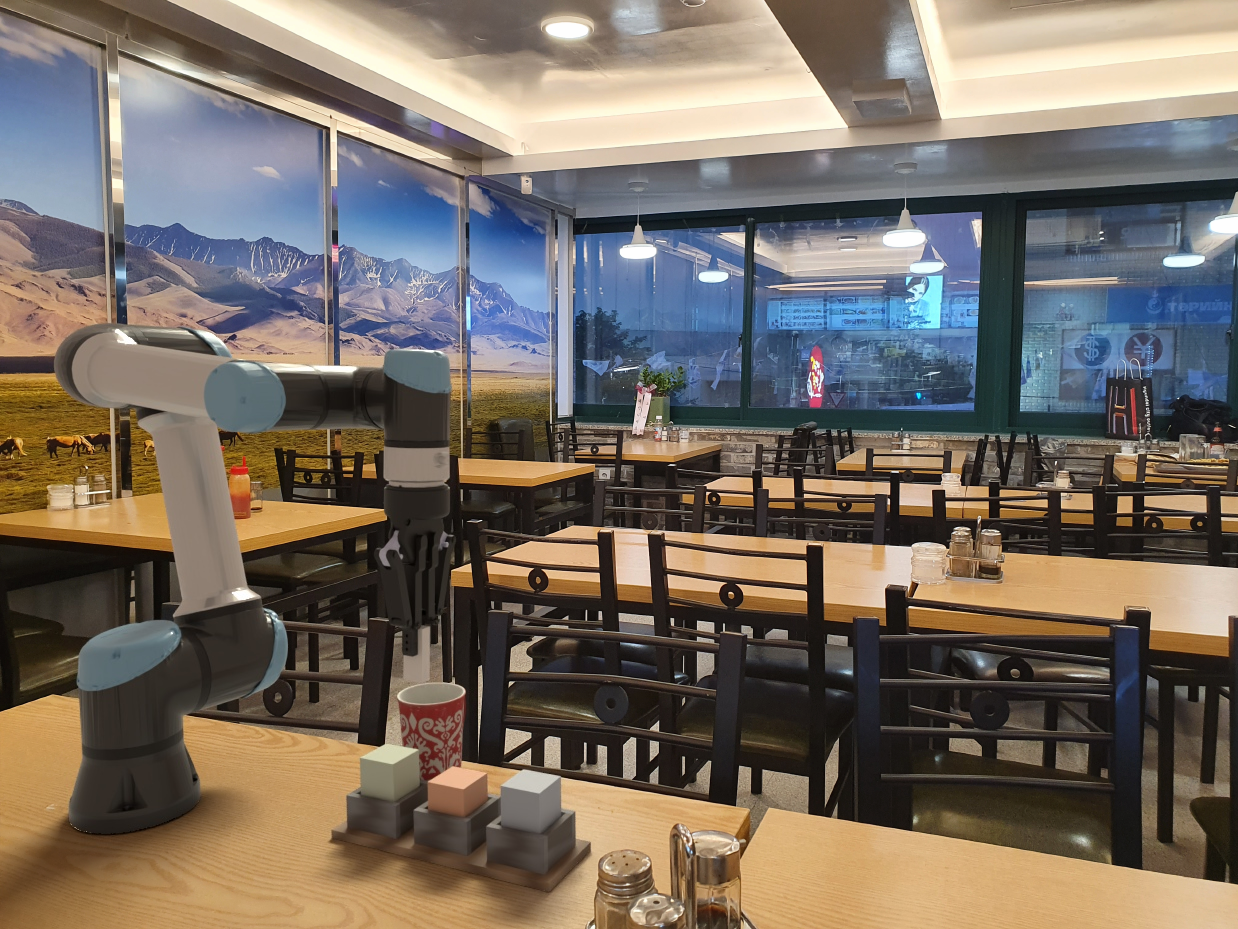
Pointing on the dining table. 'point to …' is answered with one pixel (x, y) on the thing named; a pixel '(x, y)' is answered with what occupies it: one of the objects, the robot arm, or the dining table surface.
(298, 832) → the dining table surface
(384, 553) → the robot arm
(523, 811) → the slate button
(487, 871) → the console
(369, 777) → the sage button
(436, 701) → the mug
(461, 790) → the terracotta button
